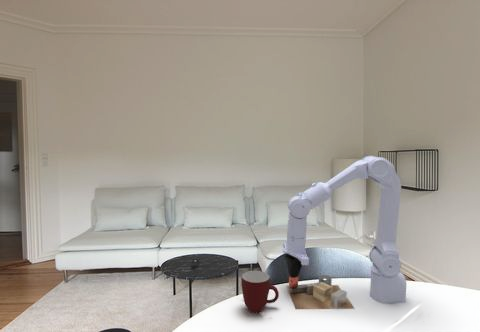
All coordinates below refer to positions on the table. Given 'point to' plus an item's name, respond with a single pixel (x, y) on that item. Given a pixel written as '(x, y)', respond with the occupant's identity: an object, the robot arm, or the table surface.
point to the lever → (306, 287)
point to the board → (315, 301)
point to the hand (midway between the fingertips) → (293, 278)
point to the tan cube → (322, 291)
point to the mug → (257, 290)
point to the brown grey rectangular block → (338, 299)
